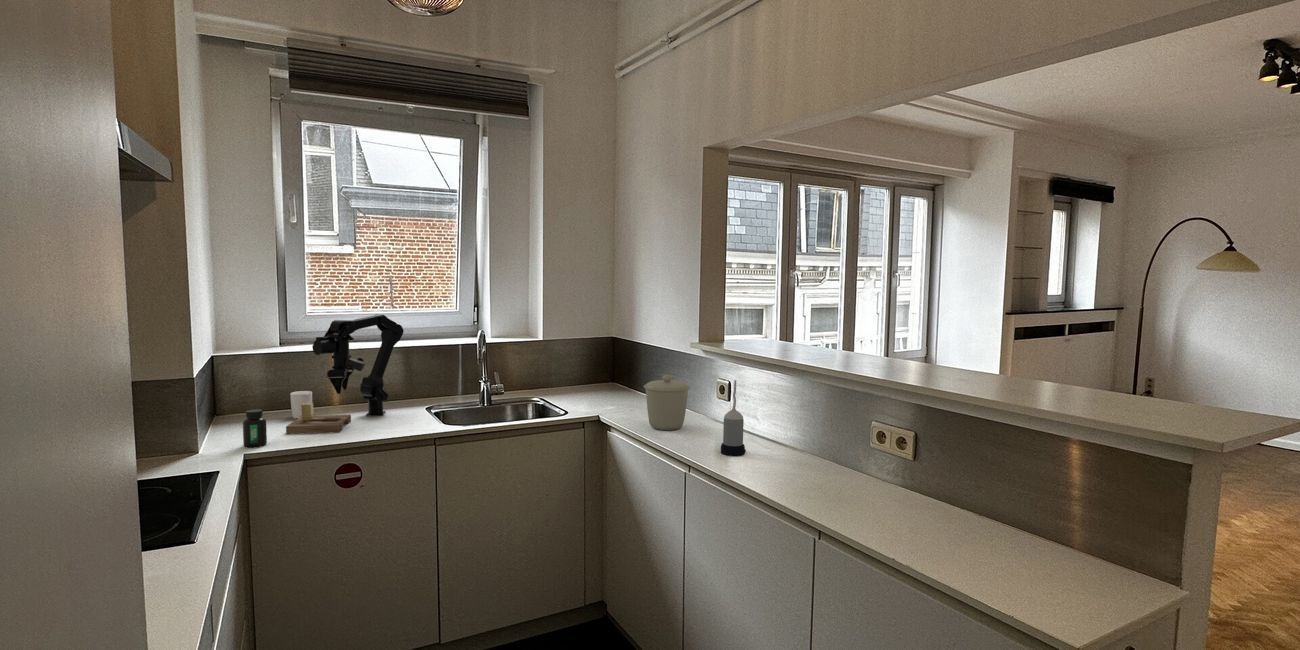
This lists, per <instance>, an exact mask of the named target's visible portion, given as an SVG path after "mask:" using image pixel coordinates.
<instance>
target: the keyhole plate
mask: <svg viewBox="0 0 1300 650" xmlns="http://www.w3.org/2000/svg"><path fill="white" fill-rule="evenodd" d="M351 422H352V415H351V414H349V413H348V414H317V415H314V419H312V420H310V421H302V416H300V417H299V418H297V419H296V418H295V420H293V421H292V422H290V423H289V424H287V425H286V426H285V434H286V435H289V434H288V433H304V434H328V433H327V432H334V433H340V432H342V431H343V425H349V424H350V423H351Z"/></svg>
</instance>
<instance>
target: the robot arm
mask: <svg viewBox="0 0 1300 650" xmlns="http://www.w3.org/2000/svg"><path fill="white" fill-rule="evenodd" d="M329 324H330V326H329V327H328V329H327V331H326V332H325V333H324V335H323V336H316V337H315V340H314V342H313V343H312V350H313V353H314V354H315V355H316V356H321V355H322V356H323V355H331V354H332V355H331V359H332V361H333V363H332V364H333V365H331V366H332V367H331V368H330V369H329V370H328V371H327V372H326V378H328V379H329V381H330V383H331V385H332V386H333V389H335V392H336V394H337V395H340V394H341V393H342V389H343V390H347V388H348V384H349V381H350V380H349V379H350V377H351V375H352V374H354V373H355V370H356V371H358V372H362V371H363V370H364V368H365V365H366V361H365V359H364V358H363V357H361V356H359V357H358V358H357V359H356V358H353V357H352V355H351V353H350V341H354V337H352V336H351V334H354V333H355V332H356V331H357V330H361V329H365V328H370V327H373V326H376V327H377V329H378V330H380V332H381V333H380V337H381V338H380V339H381V344H380V346H379V350H378V352H377V355H376V358H375V361H374V363H373V366H372V368H371V371H370V374H369V375H368V376H367V377H366V376H363V378H362V380H361V383H360V384H359V387H360V389H359V391H360V393H361V395H362V398H363V399H364V400H367V405H368V407H367V409H368V410H367V411H368V412H367V413H366V414H365V416H367V417H368V416H371V417H372V416H384V415H385V413H386V410H384V401H386V400H388V398H389V394H388V393H387V392H386V391H385V390H384V385H385V384H384V379H383V378H384V374H385V372H386V369H387V366H388V363H389V361H390V358H391V356H392V351H393V350H394V346H395V345H396V344H397V343H398V342H399V341H401V338H402V337H403V334H404V331H405V330H404V328H403V326H402V325H401V324H399V323H397V322H395V321H393V320H392V319H390V318H388V316H387V315H384V314H374V315H369V316H365V317H360V318H355V319H352V320H351V319H346V320H345V319H344V320H343V319H342V320H341V319H335V320H332V321H331V323H329Z"/></svg>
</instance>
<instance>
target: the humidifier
mask: <svg viewBox="0 0 1300 650" xmlns="http://www.w3.org/2000/svg"><path fill="white" fill-rule="evenodd" d="M736 393H737V380H736V379H735V380H733V392H732V394H730V397H729V398H731V396H732V399H733V405H732V407H731V404H732V403H731V399H730V400H729V401H730V405H729V407H730V408H729V411H727V412H726V413H725V414H724V416H723V428H722V431H723V436H722V443H721V445H720V454H721V455H724V456H727V457H742V456H744V455H745V453H746V452H747V450H746V445H745V444H744V422H745V421H744V416H743V415H742V413H741V412H740V411H737V409H736V407H737V406H736V405H737V396H736V395H737V394H736Z"/></svg>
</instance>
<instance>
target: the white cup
mask: <svg viewBox="0 0 1300 650" xmlns="http://www.w3.org/2000/svg"><path fill="white" fill-rule="evenodd" d="M289 394H290V405H291V406H290V407H291V412H292V418H293V419H296V418H299V417H300V416H302V407H301V405H302V404H304V403H313V391H311V390H298V391H293V392H290V393H289Z"/></svg>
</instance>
